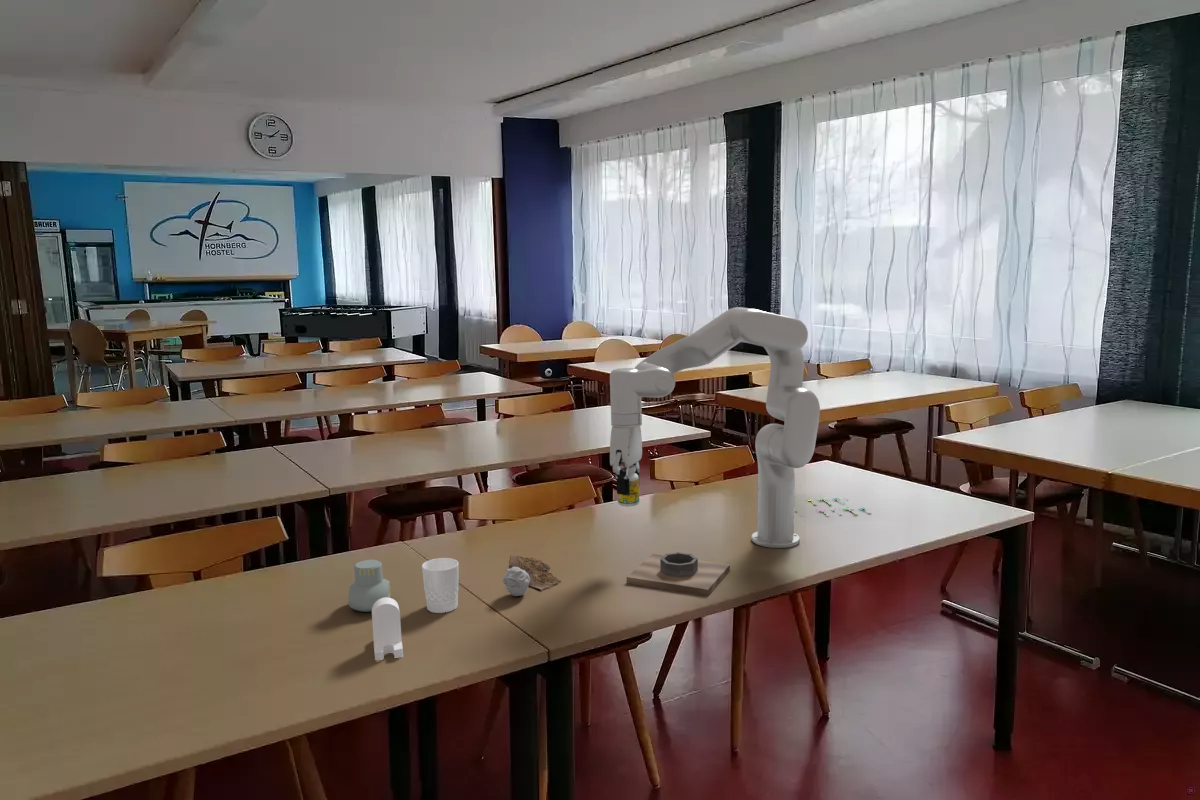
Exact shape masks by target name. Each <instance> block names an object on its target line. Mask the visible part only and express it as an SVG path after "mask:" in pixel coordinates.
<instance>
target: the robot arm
mask: <svg viewBox="0 0 1200 800" xmlns="http://www.w3.org/2000/svg"><path fill="white" fill-rule="evenodd" d="M808 333H809V332H808V328H807V327H806V325H805V323H804V322H803V321H802V320H800V319H798V318H796V317H792V316H786V315H781V314H778V313H777V314H776V313H773V312H767V311H763V310H760V309H756V308H748V307H739V306H738V307H732V308H729V309H727V310H725V311H724V312H723V313H721V314H719V315H718V316H717V317H715V318H713V319H712V320H710V321H709V322H707V323H706V324H705V325H704V326H702V327H700V328H699V329H698V330H696V331H694V332H693V333H691V334H690V335H688V336H685V337H682V338H680V339H679V340H677V341H674V342H673V343H670V344H669V345H665V346H664V347H662V348H660V349H658V350H656V351H655V352H654V353H652V354H650V355H649V356H647V357H646V358H645V359H643V360H641V361H640V362H638V363H637V365H635V367H633V368H632V367H620V368H619V367H618V368H615V369H612V370H611V371H610V373H609V391H610V392H609V394H610V395H609V396H610V397H609V399H610V426H611V428H610V429H611V431H610V438H609V441H610V442H609V465H610V466H611V467H612V471H613V472H614V474H615V479H616V493H617V495H618V494H623V495H629V494H630V487H629V479H628V470H629V466H631V465H635V467H636V471H635V473H636V474H637V475H638V477H639V478H640V469H641V468H640V464H641V459H642V458H643V457H642V456H643V439H642V429H641V426H642V425H643V413H642V412H643V411H642V410H643V409H642V408H643V407H642V398H657V399H659V398H664V397H666V396H668V395H670V394H671V393H672V392H673V391H674V388H675V387H676V378H675V375H674V374H676V373H679V372H680V371H684V370H688V369H692V368H698V367H702V366H703V367H704V366H706V365H709V364H710V363H713V362H714V361H716V360H717V359H718V358H719V357H721V356H722V355H725V353H727V352H728V351H729V350H731V349H732V348H734V347H736V346H737V345H739V344H740V343H747V344H751V345H755V346H759V347H763V348H764V350H765V351H766V353H767V356H768V357H769V361H770V362H769V363H770V369H769V378H768V379H769V380H768V387H767V392H766V398H765V400H766V401H765V408H766V411H767V413H768V415H770V416H771V417H773V418H775V419H776V420H779V421H783V422H784V424H779V423H769V424H766V425H764V426H763V427H761V428H760V430H758V432H757V434H756V437H755V442H754V443H755V446H754V447H755V453H756V454H755V455H756V459H757V469H758V470H757V472H758V473H757V474H758V476H757V477H758V478H757V479H758V481H757V483H758V484H757V531H755V532H753V533H752V534H751V541H752V542H753V543H754V544H756V545H758V546H761V547H764V548H770V549H771V548H773V549H787V548H793V547H795V546H797V545H798V544H800V542H801V539H800V536H799V535H798V534H797V533H795V513H794V510H795V503H796V502H795V500H796V499H795V498H796V497H795V493H796V492H795V490H796V473H795V469H800V468H802V467H803V468H804V467H805V466H806V465H807V464H809V462H811V460H812V457H813V456H814V452H815V447H816V443H817V442H816V441H817V436H818V429H819V424H820V423H819V422H820V416H821V408H820V401H819V398H818V397H817V395H816V394H815V393H814V392H813V391H812V390H810V389H808V388H805V387H803V384H804V383H803V381H804V373H805V360H804V355H803V353H802V348H803V347H804V346H805V345H806V343H807V341H808V339H809V337H808V336H809V334H808ZM621 465H624V466H621ZM621 468H623V469H625V471H624V472H623V470H621Z"/></svg>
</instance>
